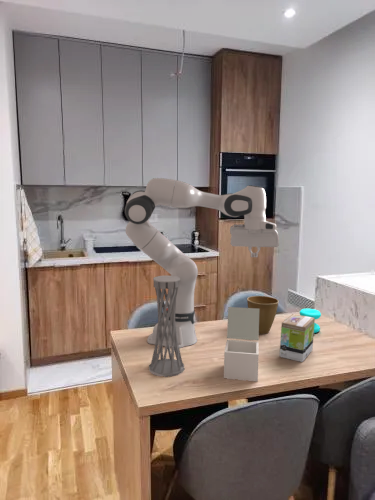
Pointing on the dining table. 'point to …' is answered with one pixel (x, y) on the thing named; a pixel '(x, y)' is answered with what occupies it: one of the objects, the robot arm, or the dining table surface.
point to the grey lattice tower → (165, 365)
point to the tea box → (297, 337)
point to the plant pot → (264, 311)
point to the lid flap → (243, 323)
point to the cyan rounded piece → (314, 314)
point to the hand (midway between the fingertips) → (254, 257)
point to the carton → (241, 360)
